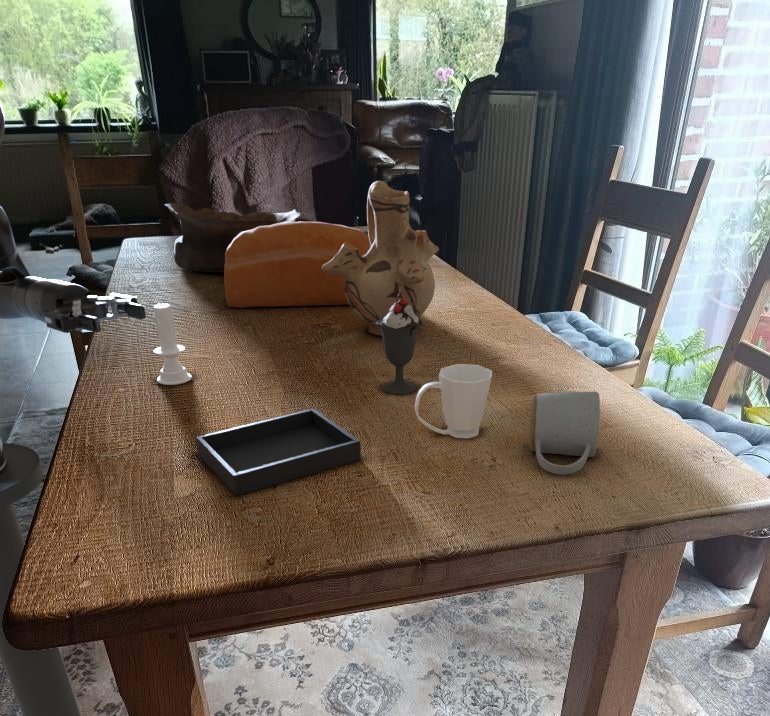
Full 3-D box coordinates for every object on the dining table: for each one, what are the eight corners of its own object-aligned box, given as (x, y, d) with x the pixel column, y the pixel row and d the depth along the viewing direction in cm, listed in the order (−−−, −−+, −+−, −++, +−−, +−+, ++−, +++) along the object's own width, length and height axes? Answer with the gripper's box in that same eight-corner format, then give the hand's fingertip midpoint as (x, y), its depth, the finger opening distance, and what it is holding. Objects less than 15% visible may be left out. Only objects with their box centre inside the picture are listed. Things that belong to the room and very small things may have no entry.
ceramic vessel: (324, 339, 127) (316, 187, 114) (363, 312, 143) (360, 175, 130) (420, 350, 122) (423, 192, 109) (450, 320, 137) (456, 178, 124)
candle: (150, 379, 111) (135, 302, 104) (180, 371, 114) (168, 295, 108) (168, 388, 107) (154, 308, 101) (198, 379, 111) (186, 301, 104)
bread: (231, 293, 157) (222, 218, 149) (379, 289, 158) (378, 215, 150) (223, 310, 145) (213, 229, 137) (383, 305, 147) (382, 225, 139)
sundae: (393, 400, 102) (393, 295, 95) (369, 386, 107) (366, 285, 99) (430, 390, 105) (433, 288, 98) (404, 377, 110) (405, 279, 102)
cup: (497, 440, 90) (502, 379, 86) (421, 447, 89) (422, 386, 85) (480, 418, 96) (483, 361, 92) (408, 425, 95) (408, 367, 90)
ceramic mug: (526, 436, 91) (531, 379, 87) (591, 439, 90) (600, 382, 86) (525, 475, 82) (531, 414, 78) (597, 480, 81) (607, 419, 77)
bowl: (191, 258, 198) (186, 200, 191) (309, 264, 197) (309, 206, 191) (149, 275, 167) (143, 206, 160) (290, 282, 166) (289, 213, 160)
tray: (236, 496, 79) (233, 476, 77) (198, 455, 88) (195, 436, 86) (361, 459, 86) (360, 440, 85) (314, 425, 95) (313, 408, 94)
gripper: (14, 290, 113) (76, 305, 105) (91, 273, 123) (153, 285, 115) (27, 336, 117) (88, 354, 109) (100, 316, 127) (161, 330, 119)
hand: (121, 318), depth 112 cm, fingers open, 8 cm apart
